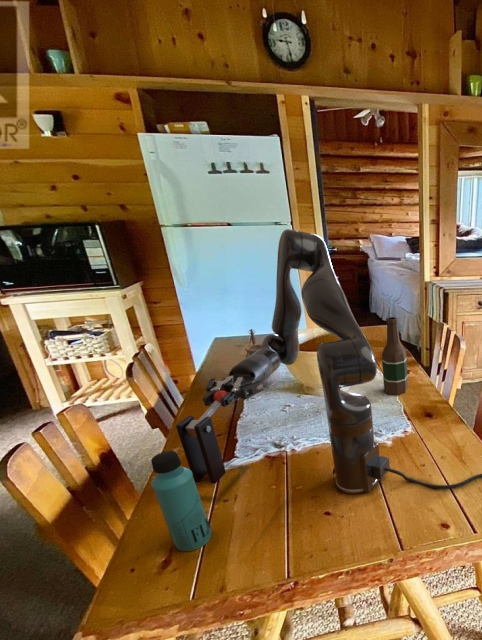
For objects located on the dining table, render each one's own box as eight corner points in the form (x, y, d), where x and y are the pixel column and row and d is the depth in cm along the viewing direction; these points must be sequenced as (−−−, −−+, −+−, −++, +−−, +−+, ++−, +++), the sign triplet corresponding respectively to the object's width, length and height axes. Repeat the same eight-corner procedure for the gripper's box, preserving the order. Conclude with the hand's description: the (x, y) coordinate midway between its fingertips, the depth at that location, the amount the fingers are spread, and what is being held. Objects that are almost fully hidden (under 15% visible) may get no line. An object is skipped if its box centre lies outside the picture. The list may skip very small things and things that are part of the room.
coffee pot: (283, 387, 146) (275, 344, 139) (245, 393, 142) (235, 349, 135) (275, 365, 163) (268, 326, 156) (242, 370, 159) (233, 330, 152)
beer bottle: (412, 388, 144) (410, 317, 134) (398, 397, 139) (394, 323, 128) (394, 383, 148) (389, 313, 137) (379, 391, 142) (373, 319, 131)
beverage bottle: (199, 560, 79) (166, 469, 70) (167, 555, 80) (131, 464, 71) (222, 535, 85) (195, 447, 76) (192, 530, 86) (162, 443, 77)
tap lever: (221, 399, 105) (216, 387, 103) (235, 400, 105) (230, 387, 103) (187, 438, 94) (180, 425, 92) (202, 439, 93) (196, 426, 91)
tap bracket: (206, 465, 106) (189, 407, 99) (245, 467, 105) (231, 409, 98) (174, 496, 95) (151, 434, 88) (217, 500, 94) (198, 436, 87)
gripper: (223, 357, 114) (180, 386, 99) (275, 359, 112) (239, 389, 97) (230, 384, 117) (190, 415, 102) (280, 386, 116) (247, 418, 101)
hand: (214, 402), depth 100 cm, fingers closed on tap lever, 3 cm apart
